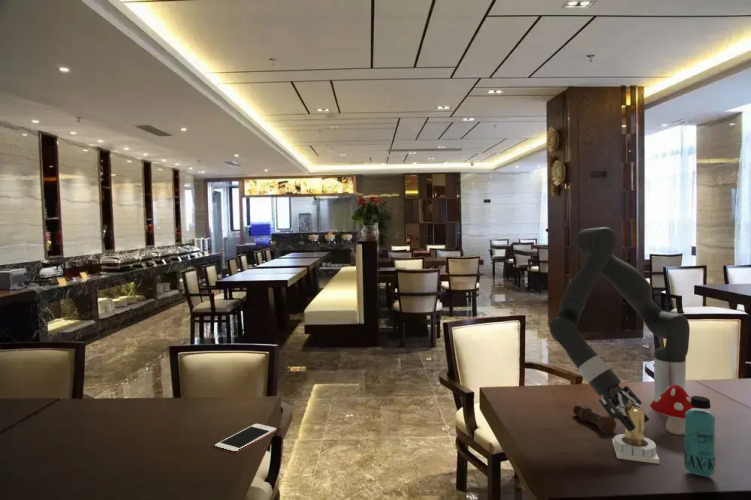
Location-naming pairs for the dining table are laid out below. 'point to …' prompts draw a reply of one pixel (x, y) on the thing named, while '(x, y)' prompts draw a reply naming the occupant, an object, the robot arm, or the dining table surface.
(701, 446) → the beverage bottle
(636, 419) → the cylinder
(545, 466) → the dining table surface
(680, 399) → the decorative mushroom
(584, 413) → the bolt
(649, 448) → the seat block
